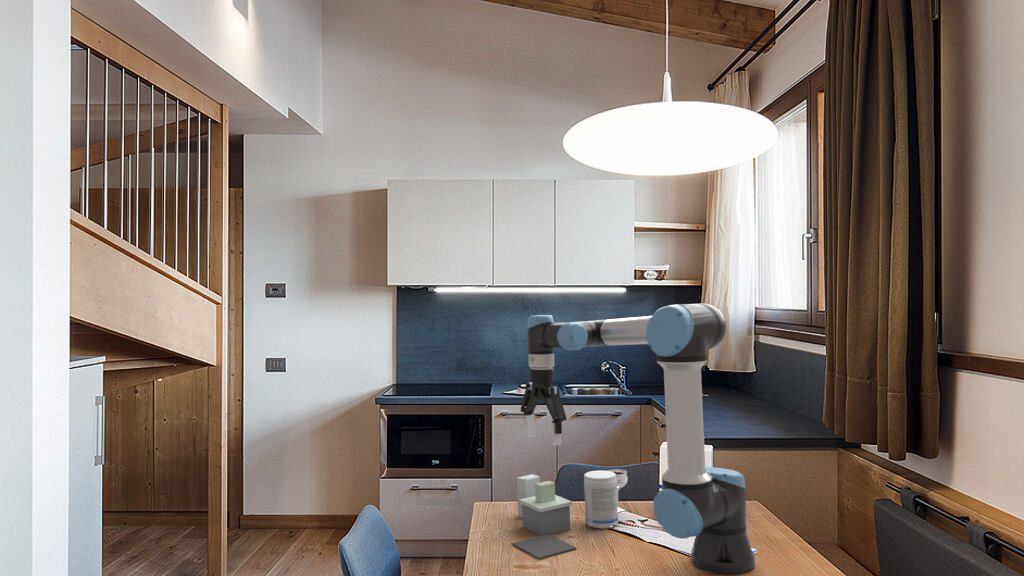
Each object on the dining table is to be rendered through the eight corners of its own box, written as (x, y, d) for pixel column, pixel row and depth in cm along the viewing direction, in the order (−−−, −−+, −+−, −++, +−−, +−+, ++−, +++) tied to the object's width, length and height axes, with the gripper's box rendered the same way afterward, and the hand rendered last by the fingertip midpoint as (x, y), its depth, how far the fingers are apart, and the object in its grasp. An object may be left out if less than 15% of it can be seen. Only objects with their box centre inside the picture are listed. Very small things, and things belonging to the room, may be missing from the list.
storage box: (570, 529, 199) (569, 504, 199) (541, 536, 194) (541, 511, 194) (550, 520, 207) (549, 496, 207) (522, 526, 202) (521, 502, 202)
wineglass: (623, 515, 210) (622, 475, 210) (603, 511, 214) (602, 473, 214) (631, 508, 216) (630, 470, 216) (611, 505, 219) (610, 468, 219)
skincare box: (532, 512, 215) (531, 473, 216) (541, 515, 212) (540, 476, 212) (517, 516, 212) (515, 476, 212) (526, 520, 208) (524, 479, 208)
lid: (572, 507, 199) (571, 484, 199) (540, 515, 193) (539, 490, 193) (550, 498, 208) (549, 476, 208) (519, 505, 202) (518, 482, 202)
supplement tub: (625, 523, 202) (623, 473, 202) (604, 532, 196) (603, 480, 196) (599, 516, 209) (597, 468, 209) (578, 524, 203) (577, 474, 203)
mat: (576, 549, 183) (576, 547, 183) (539, 559, 177) (539, 557, 177) (548, 535, 194) (548, 533, 194) (512, 544, 188) (512, 542, 188)
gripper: (508, 365, 210) (509, 435, 209) (555, 373, 188) (557, 450, 188) (528, 363, 213) (530, 432, 213) (577, 370, 192) (579, 446, 192)
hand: (543, 441), depth 201 cm, fingers open, 13 cm apart
